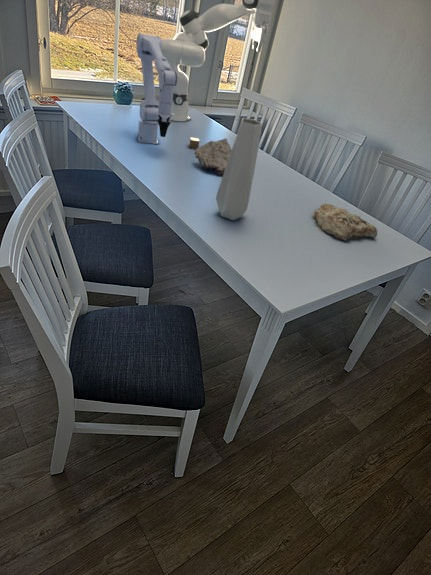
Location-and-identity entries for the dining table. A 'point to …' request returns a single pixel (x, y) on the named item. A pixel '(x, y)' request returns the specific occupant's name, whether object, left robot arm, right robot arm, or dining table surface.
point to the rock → (214, 155)
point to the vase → (239, 171)
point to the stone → (343, 223)
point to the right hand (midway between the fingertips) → (256, 50)
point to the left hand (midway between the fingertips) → (162, 134)
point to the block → (194, 143)
